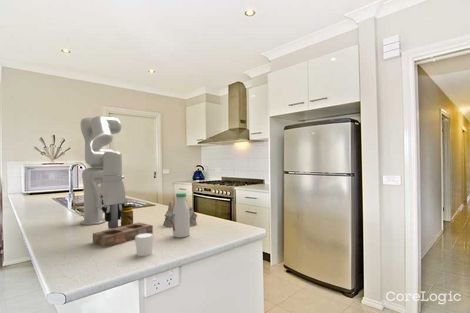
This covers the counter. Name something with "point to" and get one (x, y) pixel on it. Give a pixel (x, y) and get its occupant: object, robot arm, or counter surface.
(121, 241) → the socket block
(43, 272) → the counter surface
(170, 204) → the gray stone sculpture
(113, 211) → the grey rounded cylinder
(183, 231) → the milk bottle
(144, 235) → the shot glass
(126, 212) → the condiment
